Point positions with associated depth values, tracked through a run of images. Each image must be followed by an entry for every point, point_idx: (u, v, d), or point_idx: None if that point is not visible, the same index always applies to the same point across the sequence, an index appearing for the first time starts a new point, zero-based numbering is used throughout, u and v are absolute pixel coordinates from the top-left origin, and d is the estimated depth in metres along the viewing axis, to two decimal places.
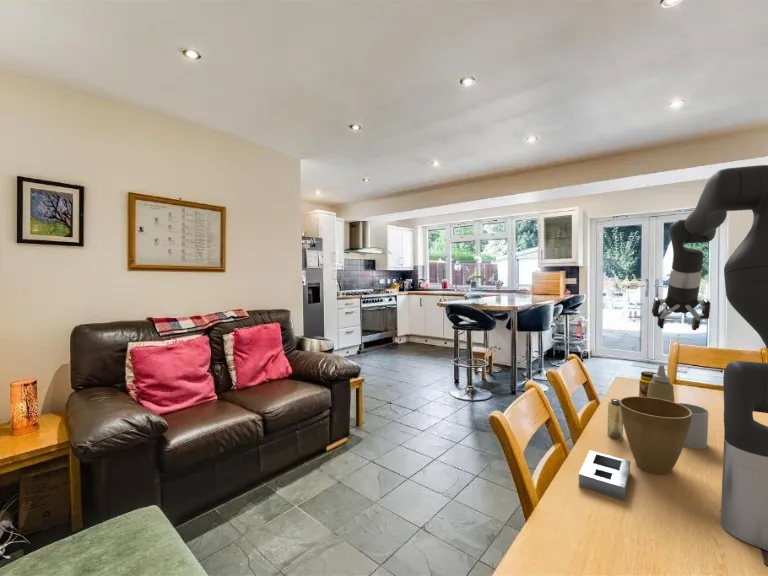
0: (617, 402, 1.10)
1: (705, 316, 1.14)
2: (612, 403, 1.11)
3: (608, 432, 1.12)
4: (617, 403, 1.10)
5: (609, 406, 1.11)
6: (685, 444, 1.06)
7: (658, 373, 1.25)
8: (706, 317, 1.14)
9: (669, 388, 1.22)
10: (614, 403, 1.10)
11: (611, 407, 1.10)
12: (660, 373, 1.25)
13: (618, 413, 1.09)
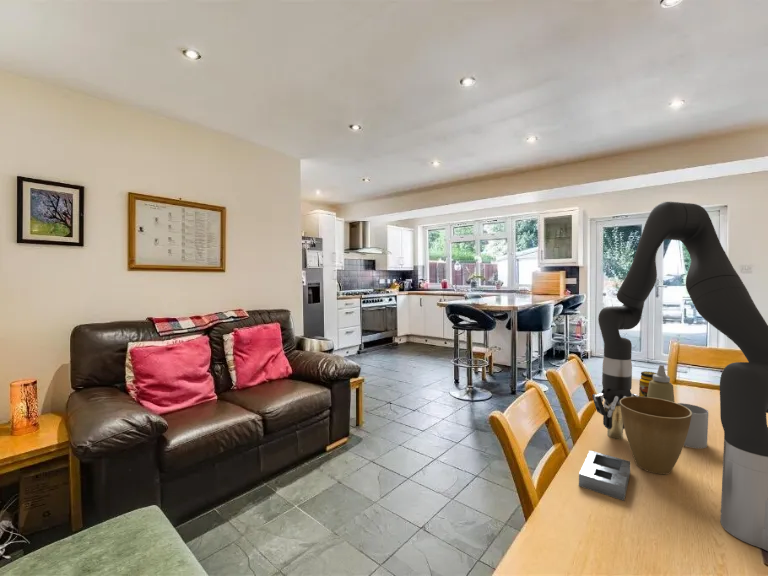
0: (617, 402, 1.10)
1: None
2: None
3: (608, 432, 1.12)
4: (617, 403, 1.10)
5: None
6: (685, 444, 1.06)
7: (658, 373, 1.25)
8: None
9: (669, 388, 1.22)
10: None
11: None
12: (660, 373, 1.25)
13: (618, 413, 1.09)
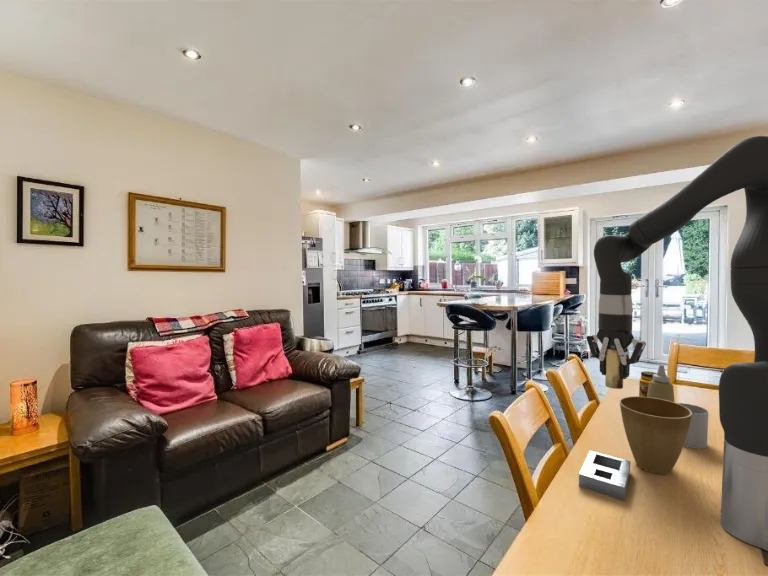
0: (611, 345, 0.96)
1: (631, 359, 0.92)
2: None
3: None
4: (611, 346, 0.96)
5: None
6: (685, 444, 1.06)
7: (658, 373, 1.25)
8: (631, 361, 0.92)
9: (669, 388, 1.22)
10: None
11: None
12: (660, 373, 1.25)
13: (608, 357, 0.96)
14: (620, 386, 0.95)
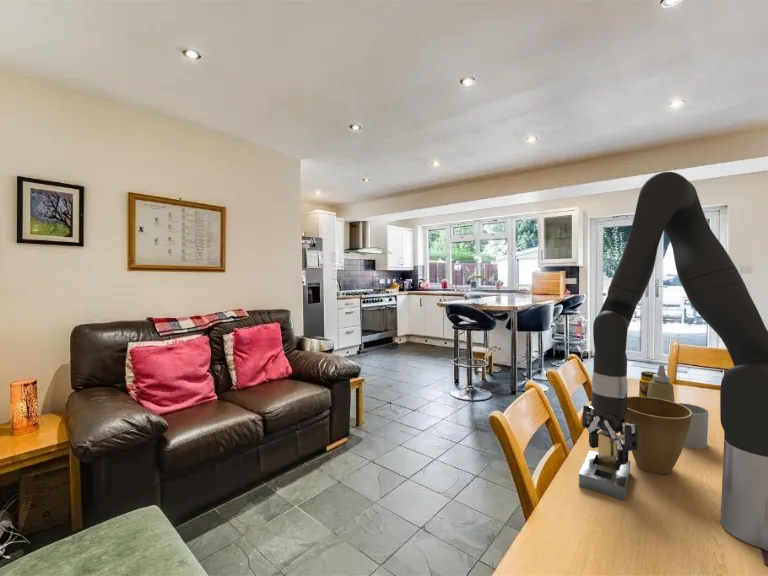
0: (603, 430, 0.91)
1: (625, 446, 0.85)
2: None
3: None
4: (602, 431, 0.91)
5: None
6: (685, 444, 1.06)
7: (658, 373, 1.25)
8: (626, 448, 0.85)
9: (669, 388, 1.22)
10: (601, 431, 0.92)
11: None
12: (660, 373, 1.25)
13: (599, 442, 0.91)
14: None
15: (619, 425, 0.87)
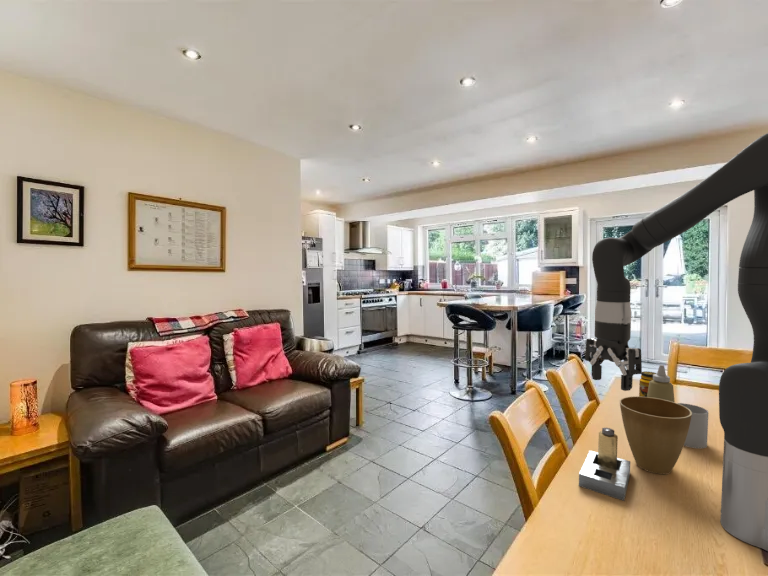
0: (603, 430, 0.91)
1: (629, 370, 0.84)
2: None
3: None
4: (602, 431, 0.91)
5: None
6: (685, 444, 1.06)
7: (658, 373, 1.25)
8: (630, 372, 0.84)
9: (669, 388, 1.22)
10: (602, 431, 0.92)
11: None
12: (660, 373, 1.25)
13: (599, 442, 0.91)
14: None
15: (623, 351, 0.87)
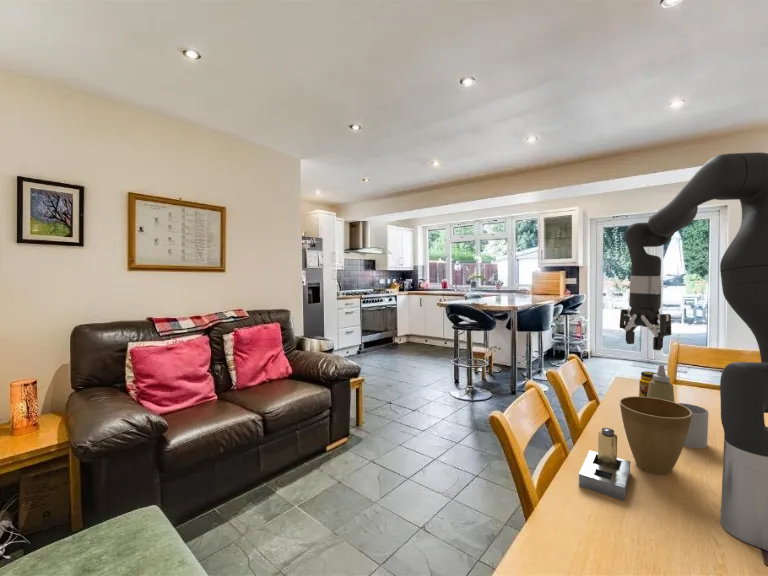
0: (603, 430, 0.91)
1: (661, 332, 1.01)
2: None
3: None
4: (602, 431, 0.91)
5: None
6: (685, 444, 1.06)
7: (658, 373, 1.25)
8: (662, 333, 1.01)
9: (669, 388, 1.22)
10: (601, 431, 0.92)
11: None
12: (660, 373, 1.25)
13: (599, 442, 0.91)
14: None
15: (655, 316, 1.03)
